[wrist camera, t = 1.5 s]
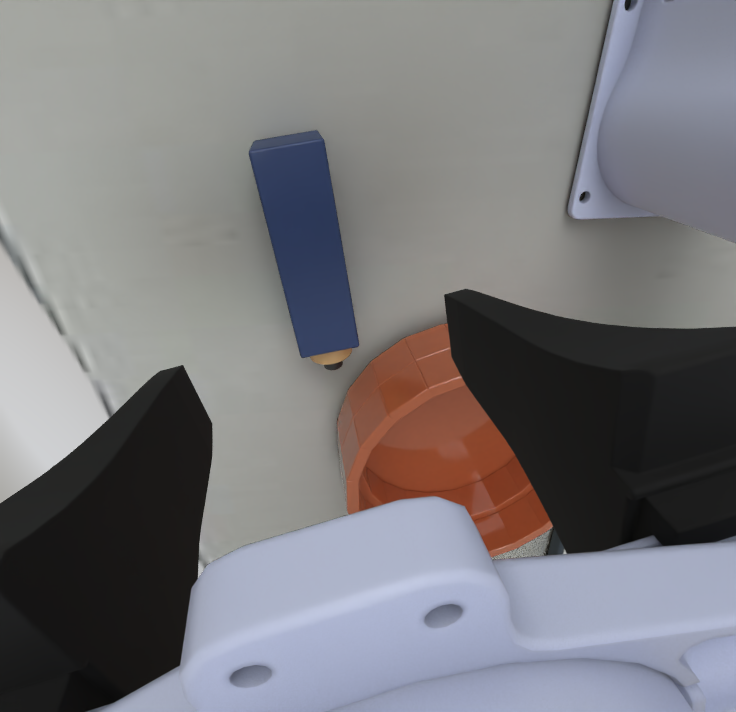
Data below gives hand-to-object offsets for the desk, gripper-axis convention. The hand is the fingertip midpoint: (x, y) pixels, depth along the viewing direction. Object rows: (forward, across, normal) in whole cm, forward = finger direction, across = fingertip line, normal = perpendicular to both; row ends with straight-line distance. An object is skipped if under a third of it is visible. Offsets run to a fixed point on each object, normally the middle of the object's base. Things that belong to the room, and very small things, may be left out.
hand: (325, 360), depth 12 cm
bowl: (+9, -6, +12) cm, 16 cm away
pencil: (+10, 0, 0) cm, 10 cm away
